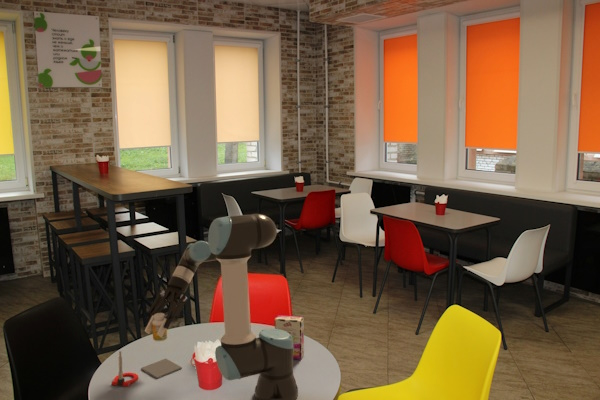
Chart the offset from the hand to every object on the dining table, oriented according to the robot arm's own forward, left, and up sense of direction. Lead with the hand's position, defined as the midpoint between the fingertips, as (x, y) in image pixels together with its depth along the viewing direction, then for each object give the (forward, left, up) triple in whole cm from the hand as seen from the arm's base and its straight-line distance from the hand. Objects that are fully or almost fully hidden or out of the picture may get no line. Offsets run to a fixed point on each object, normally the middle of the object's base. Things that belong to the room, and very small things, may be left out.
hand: (153, 334), depth 205 cm
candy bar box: (-27, -45, -16) cm, 55 cm away
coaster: (+1, -3, -16) cm, 16 cm away
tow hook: (+3, +11, -16) cm, 19 cm away
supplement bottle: (+1, -4, -4) cm, 5 cm away
